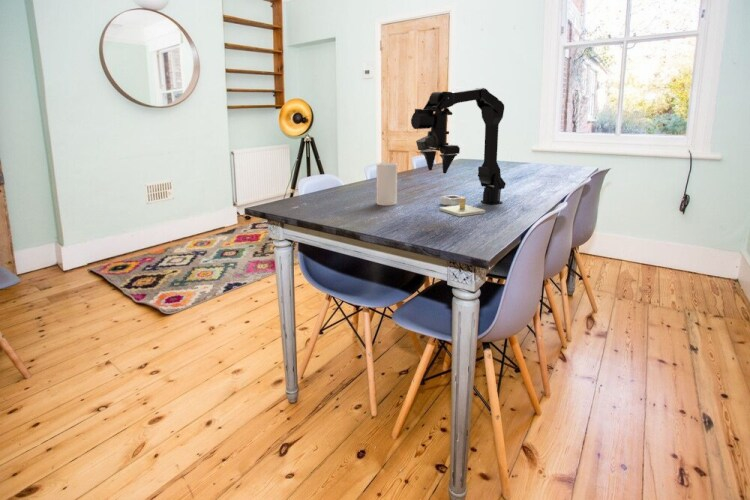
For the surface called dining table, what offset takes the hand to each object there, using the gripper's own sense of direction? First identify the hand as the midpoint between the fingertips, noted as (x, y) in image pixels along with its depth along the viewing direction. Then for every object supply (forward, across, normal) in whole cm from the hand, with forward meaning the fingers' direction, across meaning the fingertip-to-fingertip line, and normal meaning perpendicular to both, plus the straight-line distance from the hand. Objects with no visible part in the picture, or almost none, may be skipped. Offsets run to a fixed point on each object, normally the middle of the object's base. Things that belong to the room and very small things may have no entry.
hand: (437, 171), depth 170 cm
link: (+15, -5, +12) cm, 20 cm away
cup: (+15, -20, -10) cm, 27 cm away
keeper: (+14, +7, +7) cm, 18 cm away
